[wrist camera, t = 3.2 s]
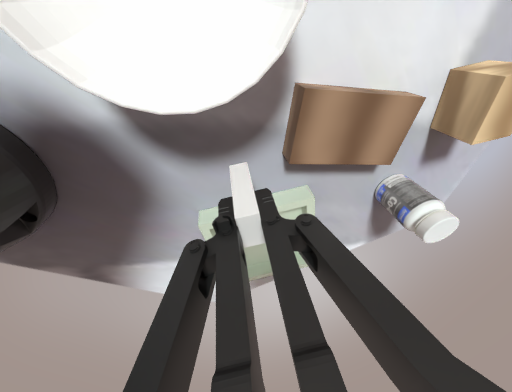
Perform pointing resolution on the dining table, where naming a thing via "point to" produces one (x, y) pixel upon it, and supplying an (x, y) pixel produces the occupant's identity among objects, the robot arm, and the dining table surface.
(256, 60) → the bowl
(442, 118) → the wooden block
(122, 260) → the dining table surface
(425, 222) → the pill bottle
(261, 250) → the tray
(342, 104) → the brown cardboard box
